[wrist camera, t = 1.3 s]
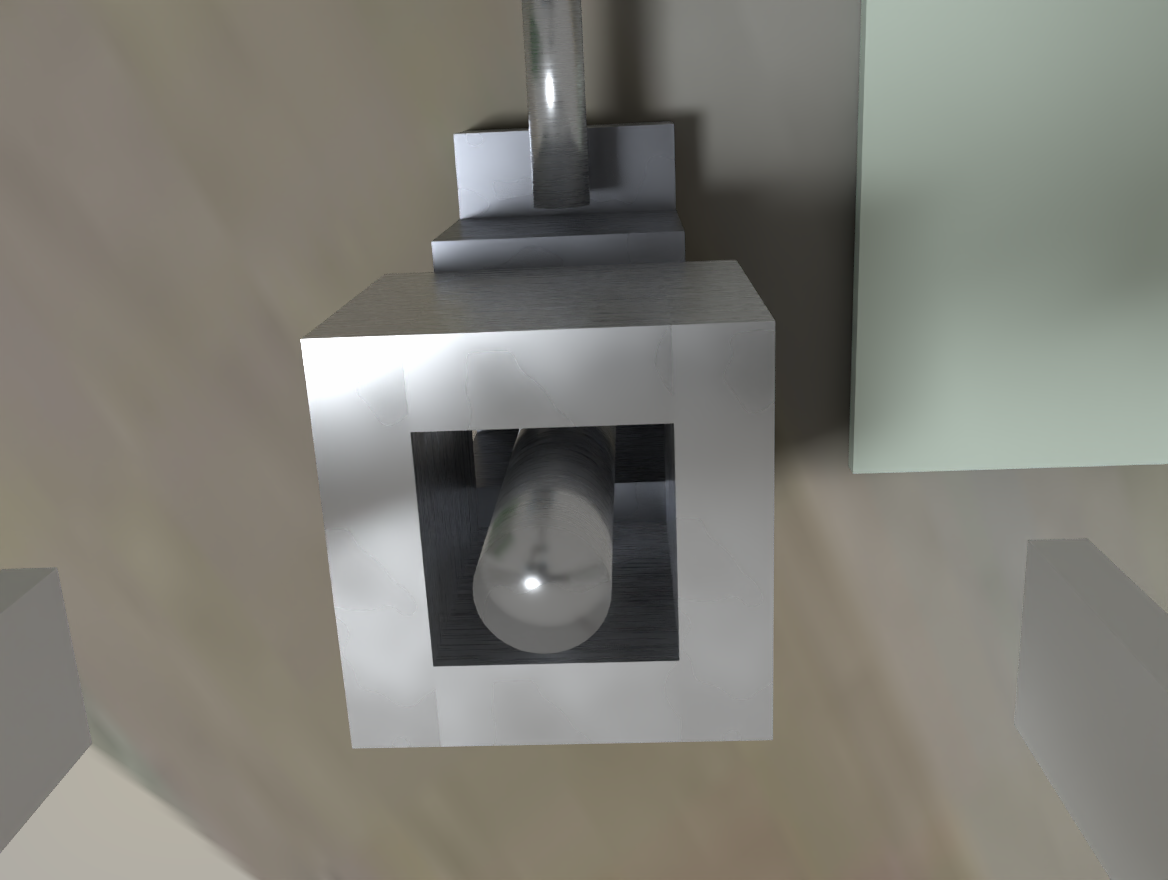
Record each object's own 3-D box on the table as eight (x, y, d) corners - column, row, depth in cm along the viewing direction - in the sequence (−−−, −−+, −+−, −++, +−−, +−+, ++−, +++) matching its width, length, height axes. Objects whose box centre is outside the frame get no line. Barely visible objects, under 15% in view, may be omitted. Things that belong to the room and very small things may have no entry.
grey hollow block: (384, 274, 22) (300, 338, 16) (736, 259, 22) (775, 321, 16) (416, 592, 24) (352, 748, 19) (738, 583, 24) (772, 740, 18)
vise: (454, -24, 26) (285, -132, 13) (667, -36, 26) (708, -158, 13) (499, 579, 31) (408, 934, 18) (680, 574, 30) (719, 931, 18)
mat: (861, -23, 26) (867, -25, 25) (1396, -51, 25) (1414, -54, 25) (848, 466, 29) (853, 473, 29) (1315, 451, 29) (1329, 458, 28)
